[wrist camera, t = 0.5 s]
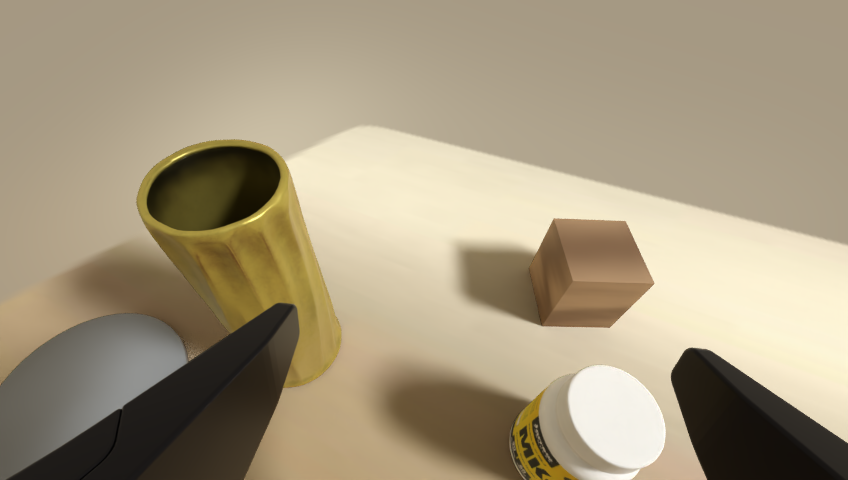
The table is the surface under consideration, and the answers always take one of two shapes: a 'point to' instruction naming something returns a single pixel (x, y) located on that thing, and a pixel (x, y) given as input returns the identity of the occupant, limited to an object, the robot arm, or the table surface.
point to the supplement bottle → (588, 428)
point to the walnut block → (587, 273)
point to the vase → (242, 241)
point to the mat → (81, 383)
